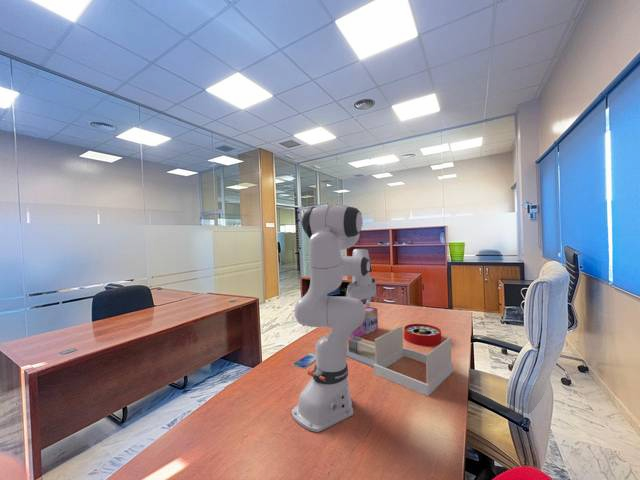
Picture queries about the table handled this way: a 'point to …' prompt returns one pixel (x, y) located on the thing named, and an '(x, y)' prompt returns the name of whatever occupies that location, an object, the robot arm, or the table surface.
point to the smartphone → (306, 361)
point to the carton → (436, 360)
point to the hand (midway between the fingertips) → (362, 307)
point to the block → (362, 347)
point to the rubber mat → (360, 358)
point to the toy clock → (422, 334)
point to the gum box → (367, 323)
